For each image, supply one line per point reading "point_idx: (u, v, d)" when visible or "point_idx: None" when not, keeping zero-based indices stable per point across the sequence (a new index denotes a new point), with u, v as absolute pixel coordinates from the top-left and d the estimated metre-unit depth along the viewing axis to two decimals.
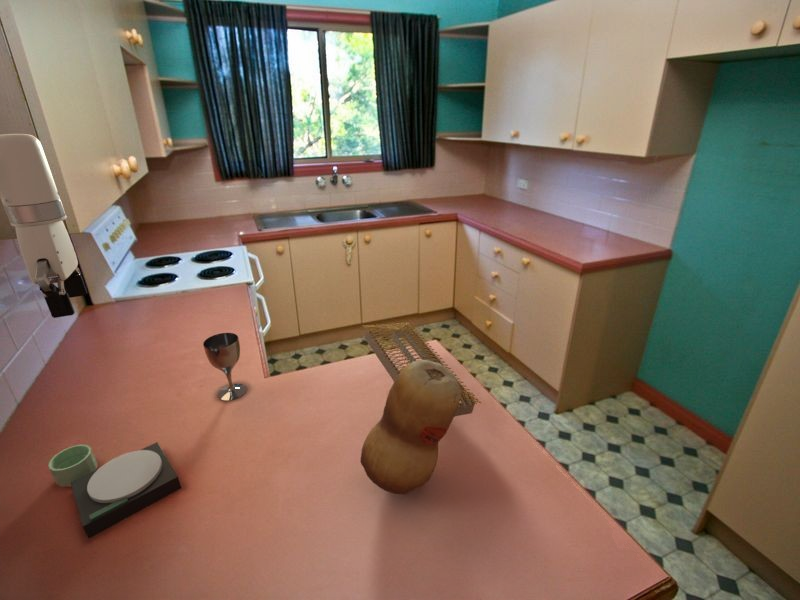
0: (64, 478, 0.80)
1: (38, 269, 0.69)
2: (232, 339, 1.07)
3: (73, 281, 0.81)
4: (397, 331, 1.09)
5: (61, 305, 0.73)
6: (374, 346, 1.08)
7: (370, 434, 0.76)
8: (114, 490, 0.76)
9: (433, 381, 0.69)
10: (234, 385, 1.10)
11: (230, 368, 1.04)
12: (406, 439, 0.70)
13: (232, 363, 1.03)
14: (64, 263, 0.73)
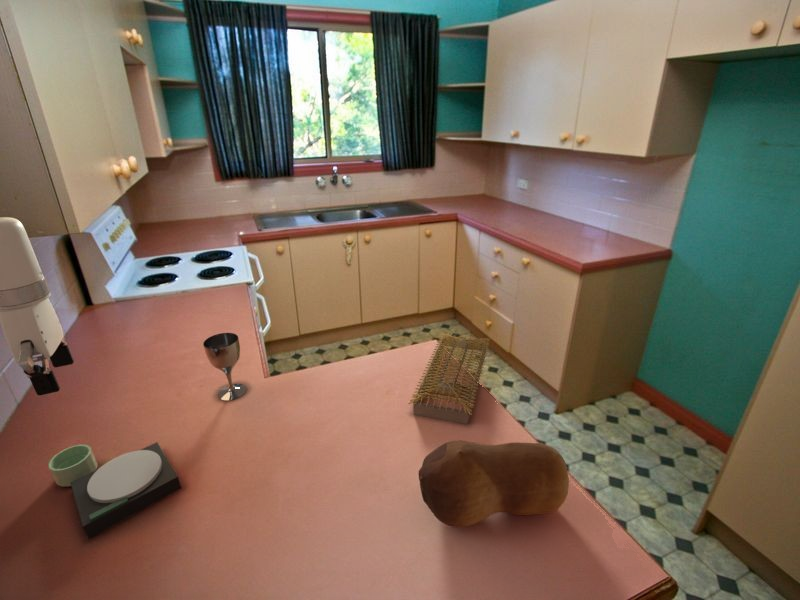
0: (64, 478, 0.80)
1: (22, 352, 0.69)
2: (232, 339, 1.07)
3: (59, 351, 0.81)
4: (460, 341, 1.18)
5: (46, 383, 0.73)
6: None
7: (478, 482, 0.66)
8: (114, 490, 0.76)
9: None
10: (234, 385, 1.10)
11: (230, 368, 1.04)
12: (506, 512, 0.70)
13: (232, 363, 1.03)
14: (49, 341, 0.73)
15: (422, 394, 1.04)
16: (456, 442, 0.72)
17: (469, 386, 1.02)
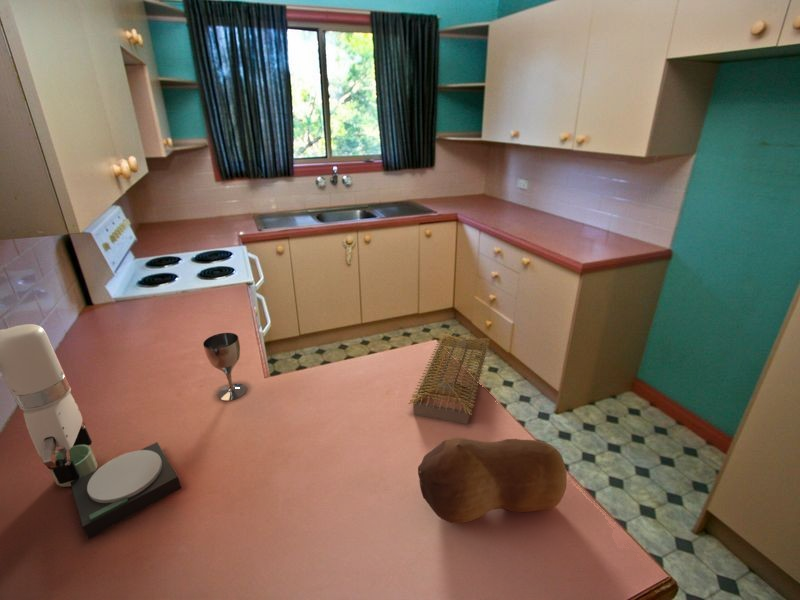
0: None
1: (45, 449, 0.74)
2: (232, 339, 1.07)
3: (78, 435, 0.86)
4: (460, 341, 1.18)
5: (67, 474, 0.78)
6: None
7: (477, 473, 0.67)
8: (114, 490, 0.76)
9: None
10: (234, 385, 1.10)
11: (230, 368, 1.04)
12: (505, 507, 0.70)
13: (232, 363, 1.03)
14: (70, 434, 0.78)
15: (422, 394, 1.04)
16: (454, 438, 0.74)
17: (469, 386, 1.02)
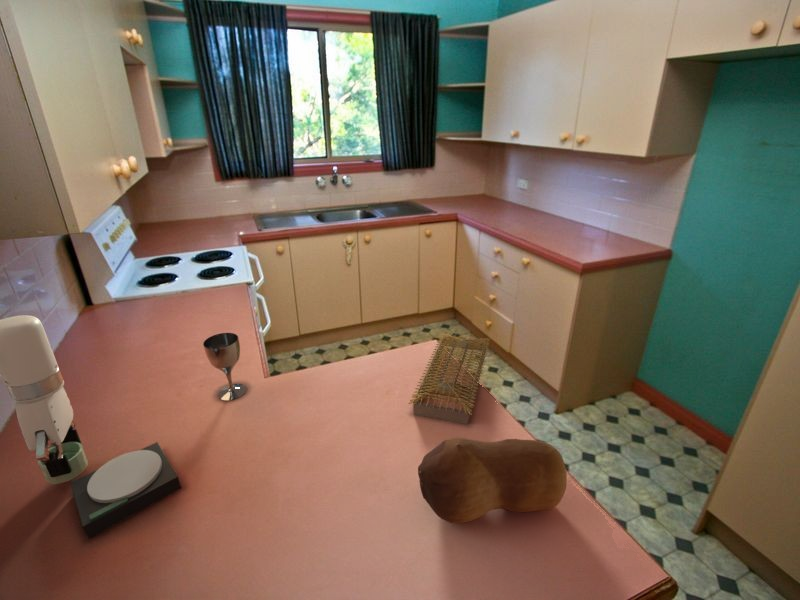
0: None
1: (38, 445, 0.73)
2: (232, 339, 1.07)
3: (68, 436, 0.84)
4: (460, 341, 1.18)
5: (59, 467, 0.78)
6: None
7: (477, 473, 0.67)
8: (114, 490, 0.76)
9: None
10: (234, 385, 1.10)
11: (230, 368, 1.04)
12: (505, 507, 0.70)
13: (232, 363, 1.03)
14: (61, 428, 0.77)
15: (422, 394, 1.04)
16: (454, 438, 0.74)
17: (469, 386, 1.02)
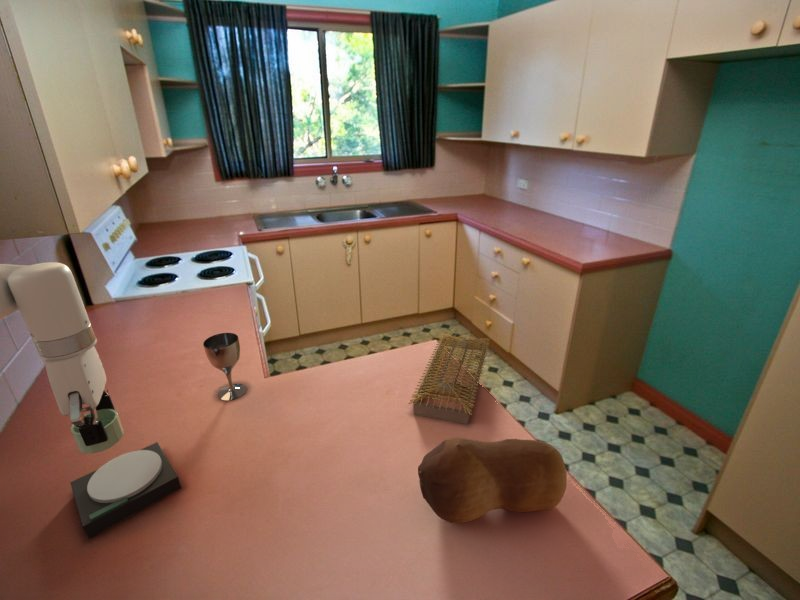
0: None
1: (72, 408, 0.65)
2: (232, 339, 1.07)
3: (101, 403, 0.76)
4: (460, 341, 1.18)
5: (95, 434, 0.70)
6: None
7: (477, 473, 0.67)
8: (114, 490, 0.76)
9: None
10: (234, 385, 1.10)
11: (230, 368, 1.04)
12: (505, 507, 0.70)
13: (232, 363, 1.03)
14: (95, 390, 0.69)
15: (422, 394, 1.04)
16: (454, 438, 0.74)
17: (469, 386, 1.02)
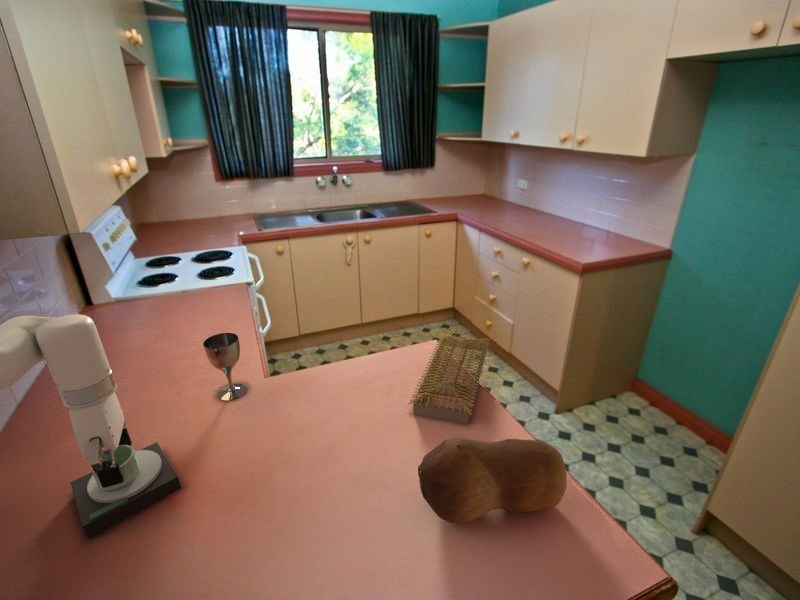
0: None
1: (91, 451, 0.68)
2: (232, 339, 1.07)
3: None
4: (459, 341, 1.18)
5: (112, 477, 0.72)
6: None
7: (477, 473, 0.67)
8: (114, 490, 0.76)
9: None
10: (234, 385, 1.10)
11: (230, 368, 1.04)
12: (505, 507, 0.70)
13: (232, 363, 1.03)
14: (115, 434, 0.72)
15: (422, 394, 1.04)
16: (454, 438, 0.74)
17: (469, 386, 1.02)
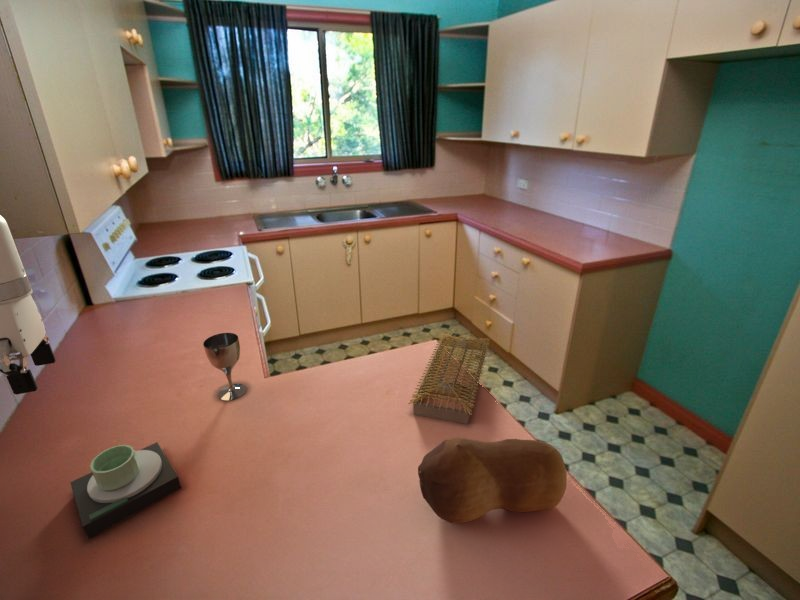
0: (107, 481, 0.75)
1: None
2: (232, 339, 1.07)
3: (41, 350, 0.79)
4: (459, 341, 1.18)
5: (23, 383, 0.71)
6: None
7: (477, 473, 0.67)
8: (114, 490, 0.76)
9: None
10: (234, 385, 1.10)
11: (230, 368, 1.04)
12: (505, 507, 0.70)
13: (232, 363, 1.03)
14: (28, 340, 0.72)
15: (422, 394, 1.04)
16: (454, 438, 0.74)
17: (469, 386, 1.02)
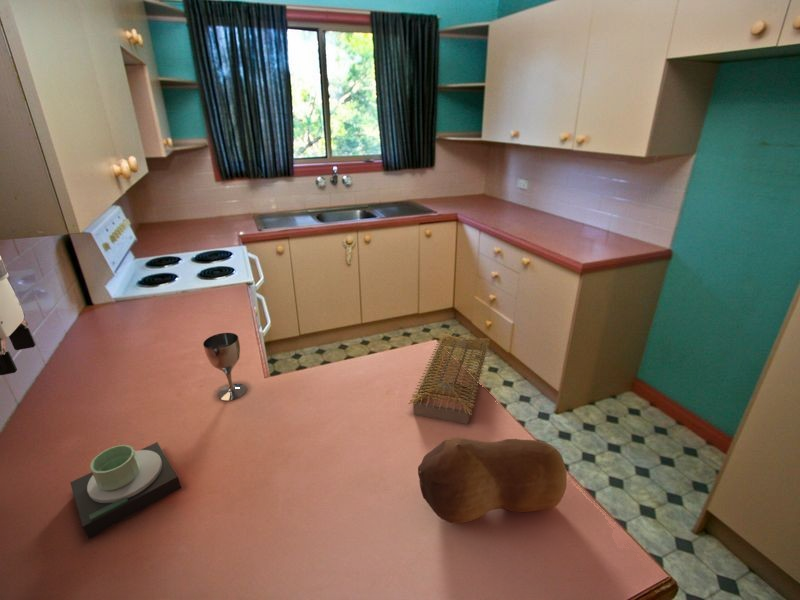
0: (107, 481, 0.75)
1: None
2: (232, 339, 1.07)
3: (20, 334, 0.81)
4: (459, 341, 1.18)
5: (2, 364, 0.73)
6: None
7: (477, 473, 0.67)
8: (114, 490, 0.76)
9: None
10: (234, 385, 1.10)
11: (230, 368, 1.04)
12: (505, 507, 0.70)
13: (232, 363, 1.03)
14: (6, 322, 0.73)
15: (422, 394, 1.04)
16: (454, 438, 0.74)
17: (469, 386, 1.02)
